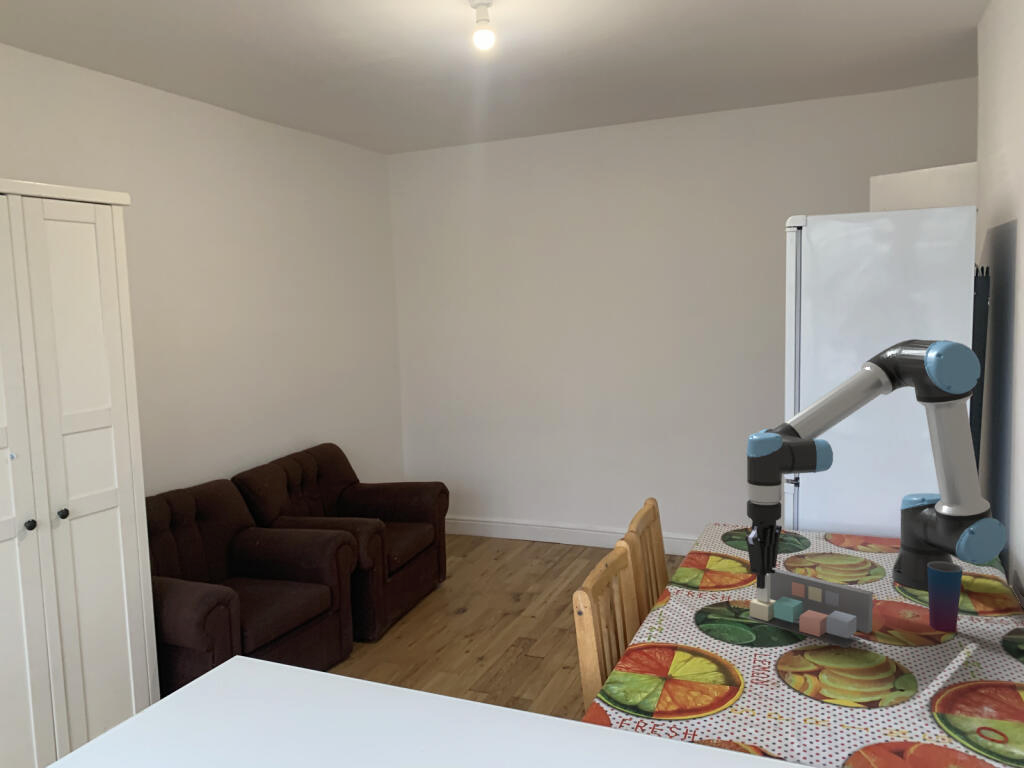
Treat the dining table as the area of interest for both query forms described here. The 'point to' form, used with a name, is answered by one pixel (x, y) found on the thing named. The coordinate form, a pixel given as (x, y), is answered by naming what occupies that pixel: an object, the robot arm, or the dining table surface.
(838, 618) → the slate key
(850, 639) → the keypad
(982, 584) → the dining table surface
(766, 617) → the sand key
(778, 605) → the teal key
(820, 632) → the coral key
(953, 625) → the cup
